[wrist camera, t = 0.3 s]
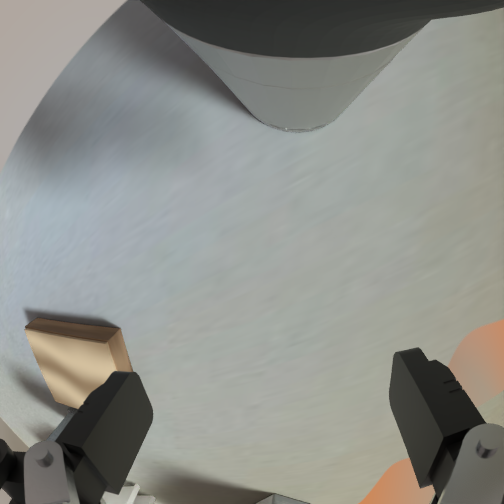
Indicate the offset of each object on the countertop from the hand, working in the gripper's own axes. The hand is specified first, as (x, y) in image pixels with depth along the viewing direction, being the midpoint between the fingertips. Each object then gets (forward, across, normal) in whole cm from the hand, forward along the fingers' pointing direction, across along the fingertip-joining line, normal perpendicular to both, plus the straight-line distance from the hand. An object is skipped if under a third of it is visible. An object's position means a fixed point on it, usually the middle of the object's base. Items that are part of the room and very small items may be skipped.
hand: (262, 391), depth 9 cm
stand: (+19, +24, +12) cm, 33 cm away
